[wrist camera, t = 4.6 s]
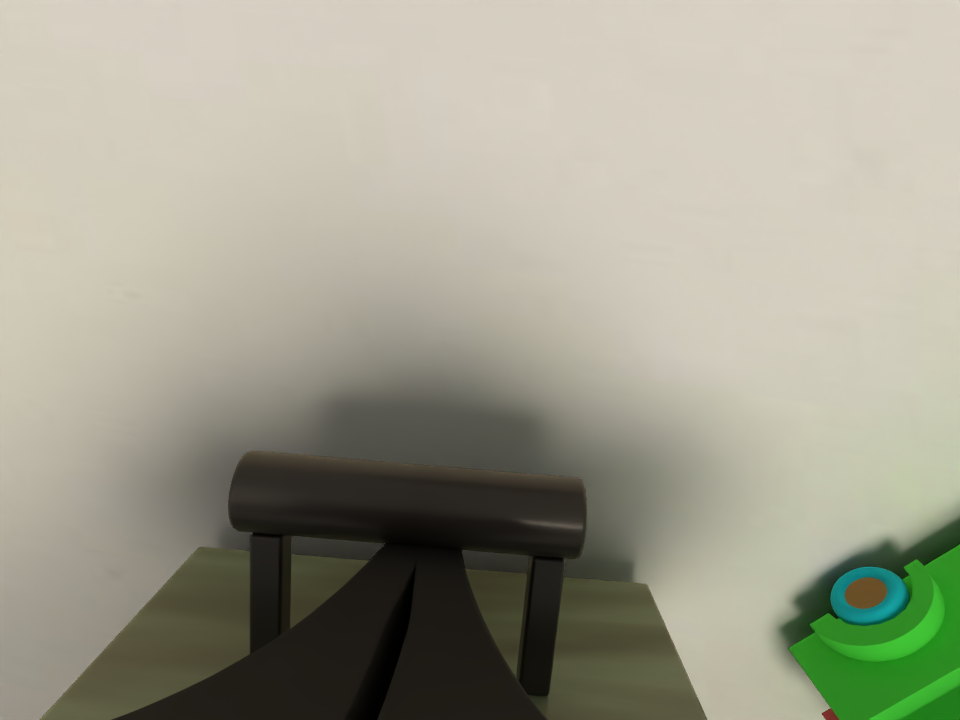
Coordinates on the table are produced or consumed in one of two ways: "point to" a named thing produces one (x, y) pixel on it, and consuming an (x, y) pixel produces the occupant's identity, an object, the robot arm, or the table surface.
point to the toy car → (889, 644)
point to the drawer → (368, 518)
